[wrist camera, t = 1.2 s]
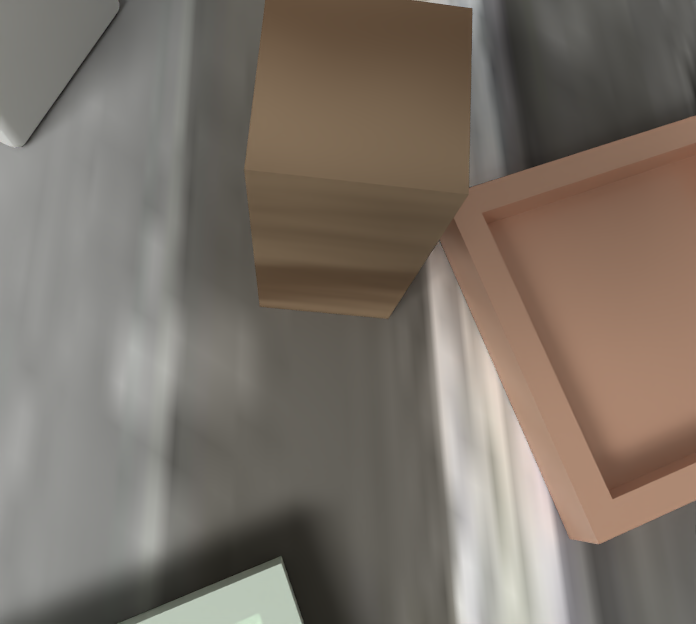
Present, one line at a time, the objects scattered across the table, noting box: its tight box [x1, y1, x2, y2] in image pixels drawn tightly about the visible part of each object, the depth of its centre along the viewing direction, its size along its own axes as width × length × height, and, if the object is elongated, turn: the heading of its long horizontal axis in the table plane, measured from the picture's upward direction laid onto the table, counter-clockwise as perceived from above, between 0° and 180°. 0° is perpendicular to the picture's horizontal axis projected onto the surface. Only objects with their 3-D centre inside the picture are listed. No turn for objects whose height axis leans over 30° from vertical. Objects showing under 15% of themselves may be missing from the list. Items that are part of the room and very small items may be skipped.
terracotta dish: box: [439, 116, 696, 544], centre depth 22 cm, size 12×12×2 cm
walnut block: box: [244, 0, 472, 319], centre depth 18 cm, size 4×4×10 cm
